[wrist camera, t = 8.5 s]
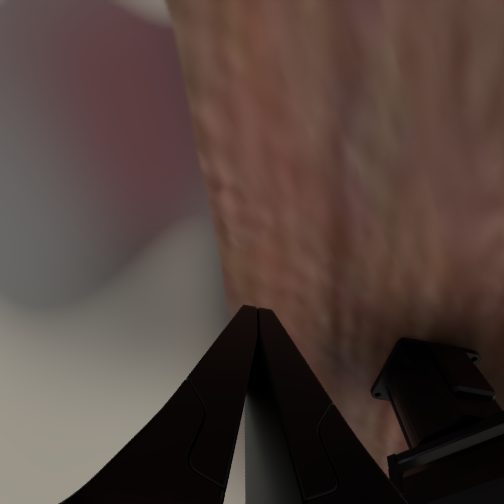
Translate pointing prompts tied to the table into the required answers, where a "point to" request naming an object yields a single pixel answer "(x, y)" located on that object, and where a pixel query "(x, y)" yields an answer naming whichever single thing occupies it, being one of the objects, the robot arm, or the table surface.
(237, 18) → the table surface
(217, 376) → the robot arm
